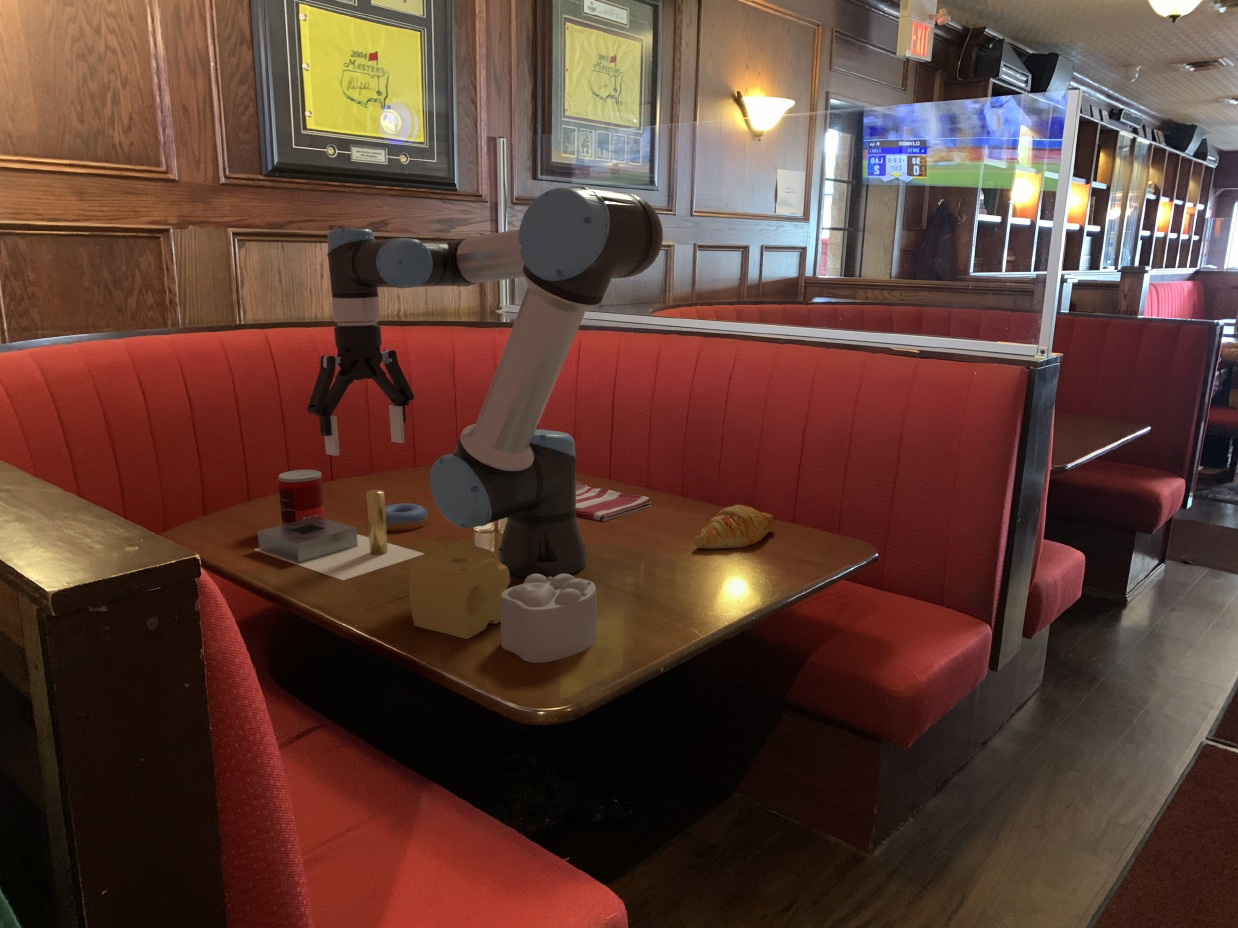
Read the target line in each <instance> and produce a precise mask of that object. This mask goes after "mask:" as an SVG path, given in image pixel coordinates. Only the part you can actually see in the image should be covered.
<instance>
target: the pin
mask: <svg viewBox="0 0 1238 928" xmlns="http://www.w3.org/2000/svg"><path fill="white" fill-rule="evenodd" d="M365 493H366V509H367V511H366V512H367V522H368V523H367V525H368V526H367V527H368V537H369V544H370V554H372V555H383V554H386V553H387V552H388V548H387V543H388V534H387V530H386V513H385V506H386V499H385V490H384V489H371V490H367V491H366V492H365Z"/></svg>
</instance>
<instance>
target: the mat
mask: <svg viewBox="0 0 1238 928" xmlns="http://www.w3.org/2000/svg"><path fill="white" fill-rule="evenodd" d="M357 543H358V546H356V547H353V548H350V549H346V550H343V551H339V552H336V553H332V554H329V555H326V556H322V557H319V558H315V559H312V560H308V561H305V562H301V563H296V562H293V561H290V560H288V559H285V558H282V557H279V556H276V555H273V554H270V553H267V552H264V551H261V550H259V547H258V548H254V549H253V550H254V551H256V552H259V553H262V554H265V555H267V556H271V557H274V558H277V559H279V560H282V561H286V562H287V563H288V562H289V563H292V564H294V565H297V566H300V567H303V568H305V569H308V570H312V571H313V572H314V571H315V572H317V573H321V574H323V575H327V576H329V577H333V578H335V579H337V580H341V581H345V580H349V579H352V578H355V577H359V576H360V575H364V574H368V573H370V572H373V571H377V570H380V569H382V568H386V567H389V566H390V567H391V566H392V565H395V564H398V563H402V562H404V561H408V560H412V559H414V558H417V557H421V556H423V555H424V556H425V553H424V552H421V551H420V552H419V551H417V550H414V549H410V548H406V547H403V546H399V545H397V544H392V543H390V542H387V548H388V552H387V553H386V554H383V555H372V554H370V544H369V536H365V535H362V534H358V533H357Z"/></svg>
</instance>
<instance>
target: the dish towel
mask: <svg viewBox="0 0 1238 928" xmlns="http://www.w3.org/2000/svg"><path fill="white" fill-rule="evenodd" d="M651 503H652V500H651V499H650V497H647V496H644V495H641V494H636V493H630V492H617V491H615V490H611V489H607V488H594V487H592V486H586V485H585V484H584V485H583V484H581V483H580V482H579V481H577V480H576V517H581V518H586V519H590V520H595V521H600V522H606V521H610V520H612V519H615V518H619V517H623V516H625V515H627V514H628V515H629V514H631V513H634V512H637V511H640V510H644V509H647V508H649V507H651V506H652V505H651Z"/></svg>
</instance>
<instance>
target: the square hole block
mask: <svg viewBox="0 0 1238 928" xmlns="http://www.w3.org/2000/svg"><path fill="white" fill-rule="evenodd" d="M357 534H358V531H357V527H355V526H352V525H349V524H345V523H342V522H339V521H334V520H331V519H328V518H325V517H324V518H321V517H318V516H316V517H312V518H308V519H304V520H300V521H296V522H292V523H288V524H284V525H282V524H280V525H276V526H272V527H268V528H264V529H259V530H257V539H258V540H257V541H258V548H259V550H261V551H264V552H267V553H270V554H273V555H276V556H279V557H282V558H285V559H288V560H290V561H293V562H296V563H301V562H305V561H308V560H312V559H315V558H319V557H322V556H326V555H329V554H332V553H336V552H339V551H343V550H346V549H350V548H353V547H356V546H358V543H357Z"/></svg>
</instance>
